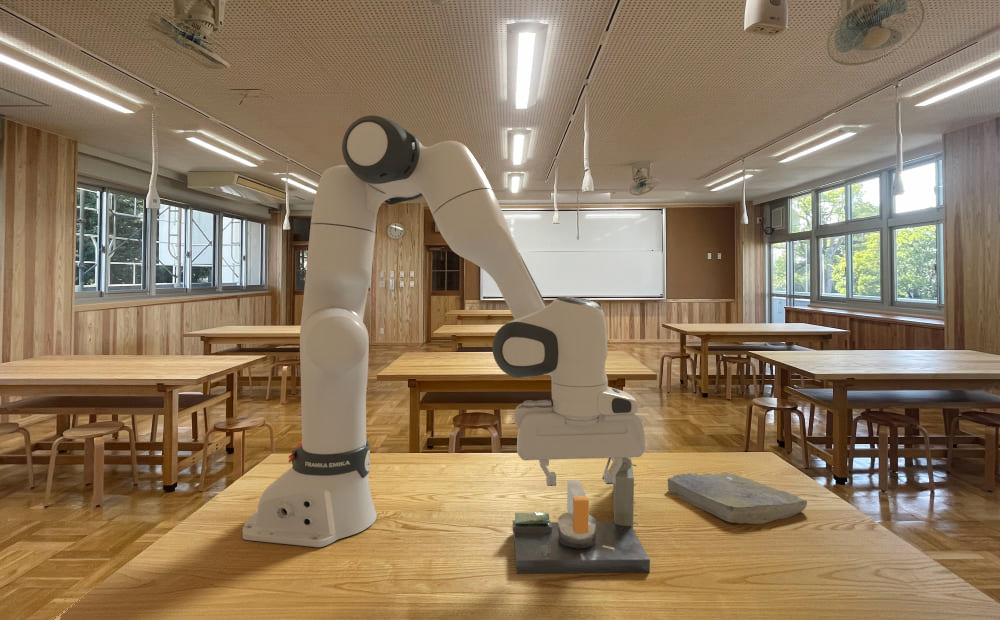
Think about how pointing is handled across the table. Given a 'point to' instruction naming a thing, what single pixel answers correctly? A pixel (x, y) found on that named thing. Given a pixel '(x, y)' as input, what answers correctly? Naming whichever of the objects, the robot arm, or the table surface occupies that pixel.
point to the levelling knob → (576, 519)
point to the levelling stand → (549, 555)
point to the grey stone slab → (735, 497)
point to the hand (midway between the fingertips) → (580, 483)
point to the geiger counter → (623, 493)
